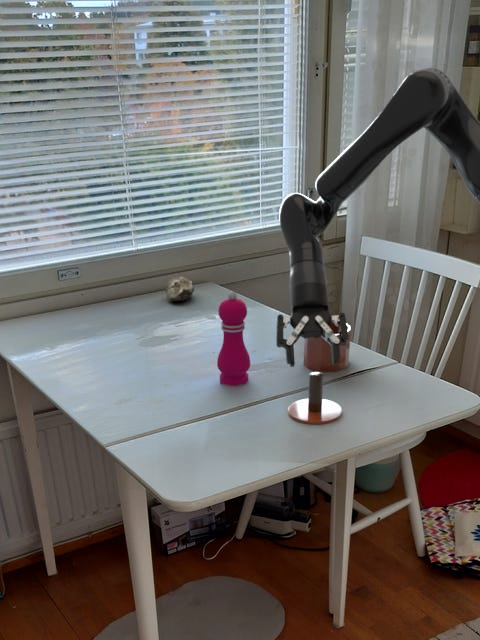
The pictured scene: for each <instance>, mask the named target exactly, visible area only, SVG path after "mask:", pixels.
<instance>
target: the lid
mask: <svg viewBox="0 0 480 640" xmlns="http://www.w3.org/2000/svg"><path fill="white" fill-rule="evenodd" d="M323 392H324V374H323V372H320V371H314V372H310V373H309V375H308V393H307V394H308V397H307V398H303V399H298V400H296V401H294V402H292V403H291V404H289V406H288V408H287V414H288V416H289V417H290V418H291V419H292V420H294V421H296V422H298V423H302V424H307V425H326V424H330V423H333V422H335V421H337V420H338V419H340V418H341V417H342V413H343V410H342V407H341V405H339V404H338V403H337V402H334V401H332V400H329V399H325V398H323V397H324V396H323V394H324V393H323Z"/></svg>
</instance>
